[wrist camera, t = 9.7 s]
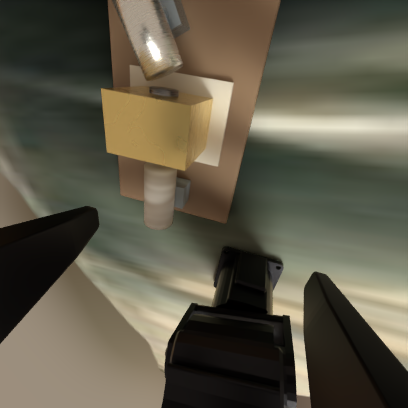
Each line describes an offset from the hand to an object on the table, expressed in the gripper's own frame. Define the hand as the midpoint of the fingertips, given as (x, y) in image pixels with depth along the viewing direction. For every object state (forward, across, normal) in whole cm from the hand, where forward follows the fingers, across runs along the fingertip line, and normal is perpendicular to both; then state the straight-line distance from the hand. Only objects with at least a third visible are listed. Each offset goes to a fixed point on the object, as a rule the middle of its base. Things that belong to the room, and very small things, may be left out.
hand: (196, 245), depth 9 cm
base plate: (+12, +5, -2) cm, 13 cm away
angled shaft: (+11, +6, -8) cm, 14 cm away
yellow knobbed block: (+10, +5, -2) cm, 12 cm away
